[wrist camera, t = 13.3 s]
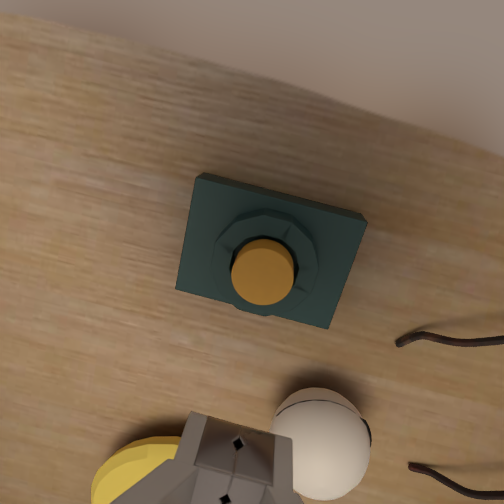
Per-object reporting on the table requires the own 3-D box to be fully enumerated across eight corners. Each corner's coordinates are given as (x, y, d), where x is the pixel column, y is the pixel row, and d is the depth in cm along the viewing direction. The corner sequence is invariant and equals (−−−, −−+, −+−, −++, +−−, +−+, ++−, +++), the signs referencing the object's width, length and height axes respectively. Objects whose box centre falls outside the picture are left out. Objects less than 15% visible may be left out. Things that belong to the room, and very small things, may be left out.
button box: (183, 276, 27) (166, 301, 24) (203, 172, 25) (188, 181, 21) (325, 314, 27) (330, 345, 24) (361, 213, 25) (374, 230, 21)
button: (229, 284, 23) (225, 296, 22) (242, 232, 22) (238, 241, 20) (284, 298, 23) (284, 312, 22) (300, 247, 22) (301, 257, 20)
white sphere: (345, 446, 32) (360, 538, 25) (261, 425, 32) (254, 510, 25) (386, 353, 28) (418, 430, 21) (293, 329, 28) (293, 397, 21)
